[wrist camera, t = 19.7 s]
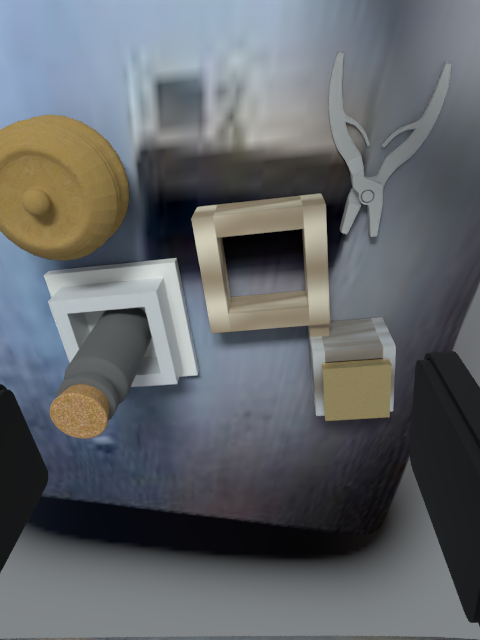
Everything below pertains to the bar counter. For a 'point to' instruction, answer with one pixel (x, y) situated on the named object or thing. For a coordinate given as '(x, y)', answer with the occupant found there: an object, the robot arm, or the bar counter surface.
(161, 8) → the bar counter surface
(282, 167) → the bar counter surface
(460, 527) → the robot arm
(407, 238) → the bar counter surface
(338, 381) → the button
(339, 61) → the pliers
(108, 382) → the bottle
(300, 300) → the socket block
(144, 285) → the cradle
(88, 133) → the pot
